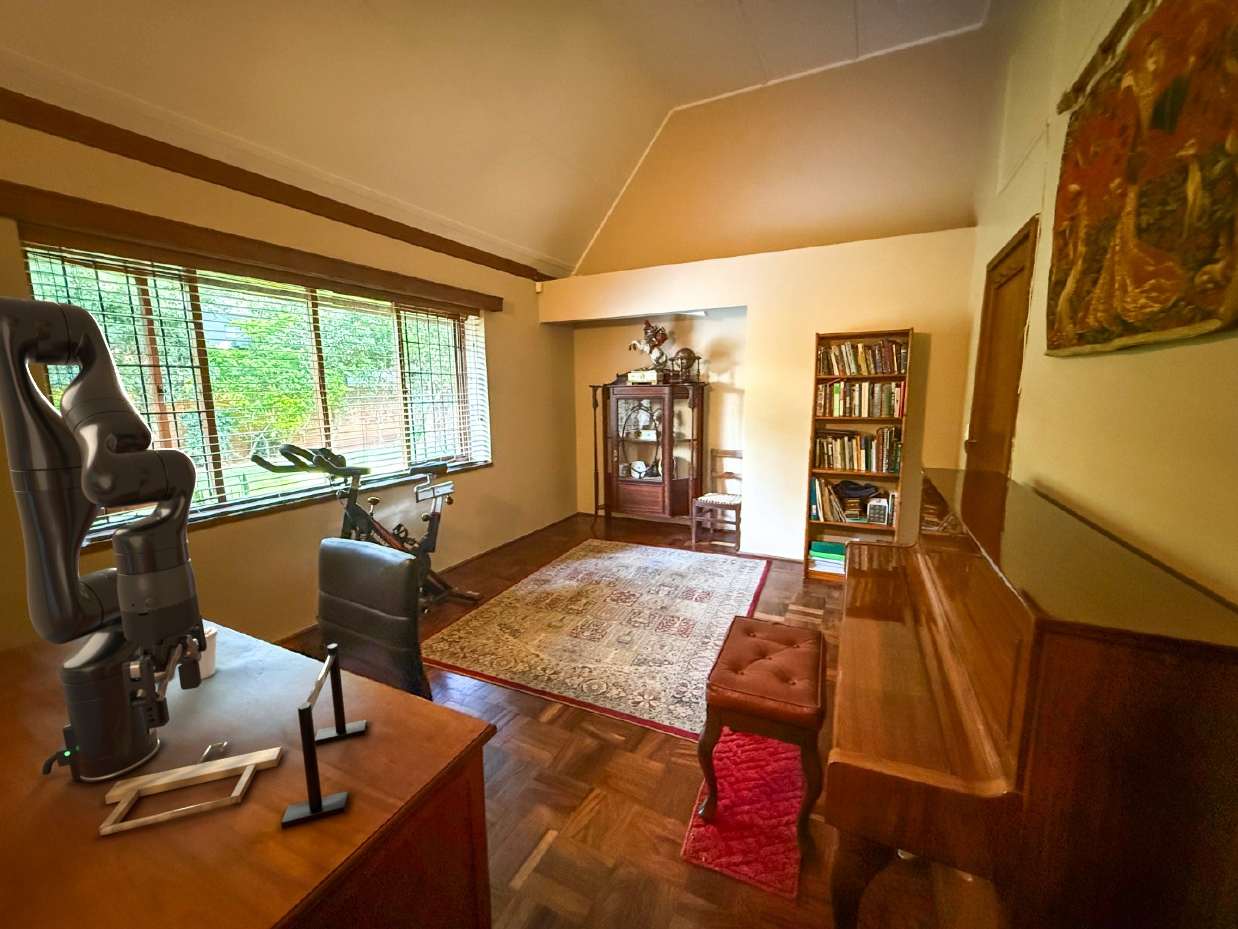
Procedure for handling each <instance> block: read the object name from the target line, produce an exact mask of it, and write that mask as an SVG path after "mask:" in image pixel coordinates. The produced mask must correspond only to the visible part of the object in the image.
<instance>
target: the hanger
mask: <svg viewBox="0 0 1238 929" xmlns="http://www.w3.org/2000/svg"><path fill="white" fill-rule="evenodd" d="M228 745H229V742H228V741H224V742H223V741H222V742H220V743H214V744H210V745H208V746H207V748H206V749H205V751H204V753H203V754H202V756H201V757H199V759H198V761H197V763H196V764H193V765H192V764H191V765H188V766H184V767H178V768H174V769H170V770H164V771H159V772H155V773H150V774H146V775H141V776H136V777H132V778H127V779H122V780H118V781H117V782H116V783H115V784H114V785H113V786H112V788H111V789H110V790H109V791H108V792H107V793H106V794H105V795H104V799H105V804H106V805H109V804H114V803H117V802H119V803H118V804H117V805H116V807H115V808H113V810H112V811H111V813H110V814H109V815H108V816H107V818H106V819H105V820H104V821H103V822H102V824H101V825H100V826H99V827H98V831H99V835H100V836H107V835H110V834H114V833H118V832H122V831H127V830H131V829H135V828H139V827H143V826H148V825H152V824H156V823H159V822H164V821H169V820H174V819H177V818H181V817H185V816H190V815H194V814H198V813H201V812H206V811H209V810H215V809H218V808H223V807H227V806H231V805H234V804H237V803H241V801H242V799H243V797H244V796H245V794H246V791H247V789H248V788H249V786H250V784H251V782H252V780H253V778H254V776H255V774H256V772H257V771H262V770H266V769H269V768H270V769H271V768H274V767H278V764H279V762H280V760H281V758H282V755H283V752H284V751H283V746H277V747H272V748H268V749H262V750H259V751H258V750H257V751H254V752H249V753H244V754H239V755H235V756H231V757H225V758H220V759H216V760H212V761H207V762H204V761H205V759H206V758H207V757H208V755H209V753H210V752H211V750H212V749H217V748H220V749H219V753H223V752H224V751H225V749H226V748H227V746H228ZM238 775H241V776H240V778H239V780H238V782H237V784H236V786H235V787H234V790H233V791H232V792H231V795H230V797H225V798H220V799H216V800H212V801H207V802H203V803H200V804H195V805H191V806H187V807H182V808H179V809H174V810H170V811H166V812H162V813H157V814H153V815H148V816H145V817H141V818H136V819H132V820H127V821H123V822H121V821H122V820H123V818H124V817H125V816H126V815H127V813H128V812H129V811H130V809H131V808H132V807H133V805H134V804H135V803H136V801H137V800H138V799H139V797H140V798H141V797H145V796H149V795H155V794H158V793H162V792H167V791H172V790H175V789H181V788H184V787H189V786H194V785H198V784H203V783H207V782H211V781H216V780H220V779H225V778H230V777H234V776H238Z"/></svg>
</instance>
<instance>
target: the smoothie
mask: <svg viewBox="0 0 1238 929" xmlns="http://www.w3.org/2000/svg"><path fill="white" fill-rule="evenodd" d="M204 632H205V638H206V644H207V648H206V650H205V651H203V652H201V660H200V661H199V667H200V674H201V680H203V679H206V678H209V677H211V676H213V675H214V674H215V672H216V655H217V654H216V649H217V648H216V647H217V636H218V634H219V633H218V628H216V627H213V626H206V627H204ZM193 641H194V642H195V643H196V644H198V640H197V639H193Z"/></svg>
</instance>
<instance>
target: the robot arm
mask: <svg viewBox="0 0 1238 929" xmlns="http://www.w3.org/2000/svg"><path fill="white" fill-rule="evenodd" d="M28 365H33V366H34V365H38V366H62V367H64V366H65V367H67V366H68V367H71V366H80V367H81V369H80V371H79V372H78V374H77V375H76V376H75V377H74V378H73V379H72V381H70V383H69V384H68V385H67V386H66V387H65V389H64V390H63V391H62V394H61V397H60V400H59V405H58V406H59V407H58V408H59V409H57V408H56V407H54V405H52V403H51V402H50V401H49V400H48V399H47V398H46V396H44V395H43V393H42V392H41V390H40V389H39V388H38V386H37V384H36V382H35V381H34V378H33V377H32V375H31V373H30V370H29V367H28ZM124 386H125V385H124V383H123V381H122V379H121V376H120V373H119V370H118V368H117V365H116V363H115V360H114V357H113V355H112V352H111V349H110V347H109V345H108V342H107V340H106V337H105V335H104V332H103V330H102V328H101V326H100V324H99V323H98V321H97V320H96V318H95V317H94V316H93V315H92V314H91V312H90V311H88V310H87V309H85V308H84V307H82V306H79V305H76V304H71V303H65V302H59V301H58V302H56V301H47V300H40V299H39V300H38V299H31V298H23V297H14V296H7V295H6V296H5V295H0V415H1V421H2V426H3V428H2V429H3V434H4V442H5V450H6V455H7V463H8V469H9V474H10V479H11V481H10V482H11V486H12V490H13V495H14V499H15V503H16V506H17V507H16V508H17V512H18V515H19V521H20V527H21V532H22V537H23V544H24V552H25V570H26V571H25V572H26V573H25V574H26V597H27V607H28V615H29V618H30V621H31V625H32V626H33V629H34V630H35V631H36V633H37V635H38V636H39V637H40V638H41V639H42V640H44V641H45V642H47V643H49V644H52V645H64V644H68V643H72V642H74V641H77V640H80V639H83V638H85V637H87V638H86V639H85V640H83V642H82V643H81V644H80V645H79V646H78V647H77V648H75V649H74V650H73V651H72V652H71V653H69V655H67V656H66V657H65V658H64V659H63V660H62V662H60V665H59V668H58V669H59V670H58V671H59V676H60V681H61V685H62V691H63V696H64V700H65V705H66V710H67V715H68V716H67V717H68V720H69V722H68V723H67V724H66V725H64V726H63V728H62V734H63V738H64V740H63V741H64V744H63V745H62V746H61V747H59V748H58V749H57V750H56V751H55V753H53V754H52V755H50V756H49V757H48V758H47V759H46V760H45V761H44V763H43V765H42V770H41V775H42V776H48V775H50V774H51V772H52V768H53V765H54V763H55V761H57V765H58V768H62V767H65V766H69V770H70V773H71V774H70V775H71V778H72V782H78V781H81V782H83V783H88V784H89V783H91V784H93V783H101V782H105V781H109V780H112V779H115V778H118V777H120V776H123V775H126V774H128V773H129V772H132V771H134V770H135V769H137V768H139V767H141V766H142V765H144V764H145V763H147V762H148V761H150V760H151V759H152V758H153V757H154V756H155V755H156V754H157V753H158V751H159V750H160V747H161V743H160V740H159V735H158V732H157V728H163V727H165V726H166V725H167V724H168V723H169V722H170V714H169V706H168V700H167V697H166V694H167V689H168V684H169V683H170V682H171V681H173V679H174V678H175V675H176V674H175V673H176V669H177V672H178V677H179V678H178V679H179V685H180V689H181V690H183V691H186V690H192V689H197V688H199V687H200V686H201V684H202V679H201V674H200V667H199V661H200V660H201V652H203V651H205V650H206V648H207V644H206V638H205V632H204V628H205V626H204V622H203V616H202V614H201V610H200V603H199V596H198V588H197V581H196V580H197V579H196V574H195V570H194V567H193V564H192V561H191V560H192V559H191V555H190V548H189V539H188V522H189V517H190V510H191V506H192V502H193V498H194V494H195V490H196V487H197V480H198V472H197V467H196V464H195V463H194V461H193V459H192V458H191V457H190V455H188V454H187V453H185V452H184V451H182V450H181V449H177V448H167V447H166V448H155V449H153V448H152V449H149V448H150V447H151V445H152V443H153V439H154V438H153V437H154V436H153V433H152V430H151V428H150V426H149V425H148V424H147V421H146V420H145V419H144V418H143V416H142V414H140V411H139V410H138V409H137V408H136V406H135V405H134V403H133V402H132V400H131V398H130V396H129V395H128V392H127V391H126V389H125V387H124ZM155 503H156V506H155V508H154V509H153V511H152V512H151V513H150V514H149V515H147V516H145V517H143V518H141V519H138V520H135V521H132V522H129V523H126V524H124V525H122V526H119V527H118V528H116V529H115V530H114V531H113V532H112V534H111V543H112V550H113V556H114V557H113V558H114V562H115V564H114V565H115V567H108V568H103V569H100V570H96V571H93V572H89V573H86V574H82V575H80V568H79V567H80V566H79V563H80V562H79V559H80V552H81V549H82V546H83V544H84V541H85V538H86V537H87V535H88V532H89V531H90V530H91V528H92V526H93V525H94V523H95V521H96V519H97V517H98V516H99V515H100V512H101V510H102V508H104V509H110V510H111V509H122V508H130V507H135V506H143V505H149V504H155ZM193 639H197V640H198V644H196V643H195V642H194V641H193ZM160 672H165V673H164V674H162V675H158V676H157V675H155V673H160ZM156 684H158V685H157V687H156Z"/></svg>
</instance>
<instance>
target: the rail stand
mask: <svg viewBox="0 0 1238 929" xmlns="http://www.w3.org/2000/svg"><path fill="white" fill-rule="evenodd" d="M326 650H327V656H326V658H325V662H324V663H323V666H322V668H321V669H320V672H319V674H318V677H317V678H316V681H315V683H314V685H313V686H312V688H311V691H310V693H309V694H308V695H309V696H308V697H307V700H306V702H303V703H301V704H299V705H298V706H297V713H298V723H299V730H300V740H301V748H302V757H303V763H304V774H305V781H306V782H305V783H306V790H307V798H308V800H306V801H302V802H298V803H294V804H290V805H287V807H286V809H285V812H284V814H283V816H282V820H281V822H280V825H281V829H282V830H283V829H287V828H290V827H293V826H299V825H302V824H306V823H310V822H313V821H317V820H320V819H324V818H329V817H333V816H337V815H340V814H345V813H346V809H347V806H348V801H349V798H350V794H349V790H346V791H342V792H337V793H334V794H330V795H326V796H322V790H321V788H322V787H321V779H320V771H319V763H318V754H317V746H318V745H324V744H328V743H333V742H337V741H342V740H347V739H351V738H356V737H360V736H361V737H362V736H365V734H366V731H367V727H368V719H363V720H362V719H361V720H359V721H353V722H348V723H346V714H345V713H346V712H345V704H344V703H345V702H344V695H343V685H342V684H343V683H342V674H341V663H340V653H339V644H338V643H331V644H329V645H327V649H326ZM328 676H329V679H330V687H331V697H332V707H333V715H334V716H333V717H334V725H333V726H329V727H323V728H320V729H319V728H318V730H317V731H316V734H315V725H314V718H313V709H314V707H315V705H316V702H317V700H318V698H319V695H320V693H321V691H322V690H323V686H324V684H325V682H326V680H327V679H328V678H327V677H328Z"/></svg>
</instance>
